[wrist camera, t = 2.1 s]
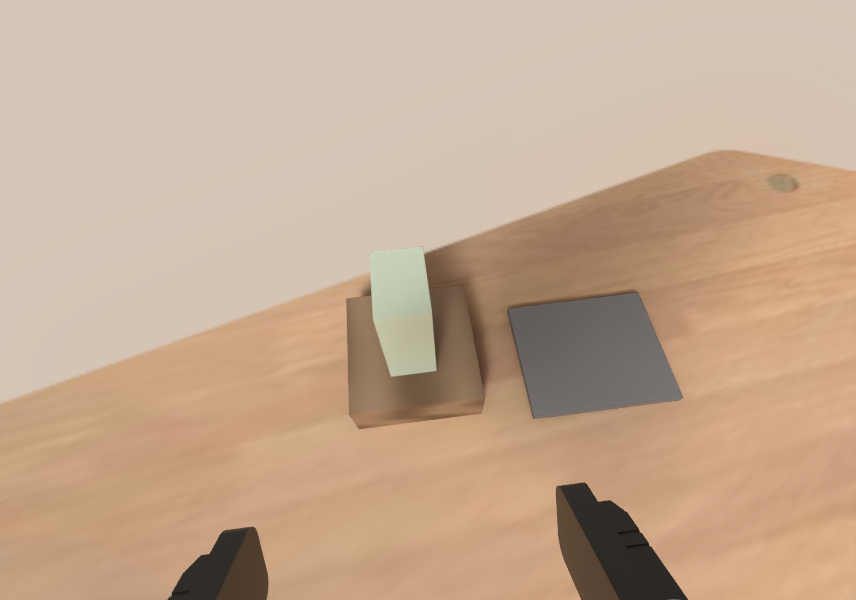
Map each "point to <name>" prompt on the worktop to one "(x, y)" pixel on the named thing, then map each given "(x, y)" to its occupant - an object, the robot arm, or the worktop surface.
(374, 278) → the pale green rectangular block
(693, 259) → the worktop surface
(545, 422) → the worktop surface
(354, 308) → the brown rectangular box
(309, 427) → the worktop surface
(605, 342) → the mat
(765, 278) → the worktop surface
